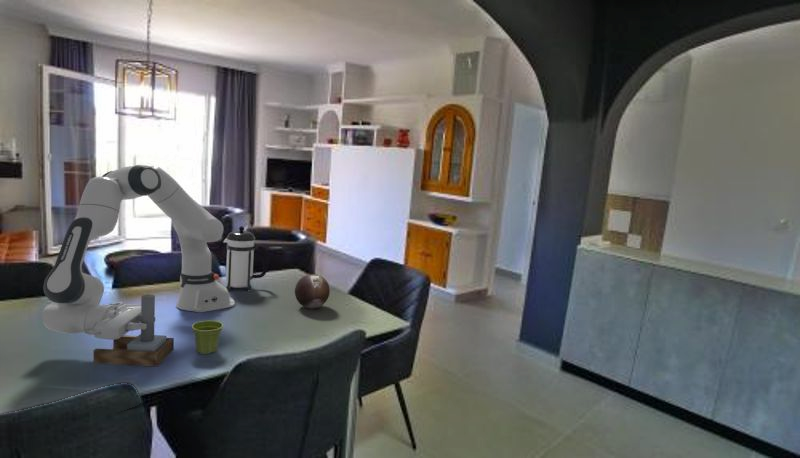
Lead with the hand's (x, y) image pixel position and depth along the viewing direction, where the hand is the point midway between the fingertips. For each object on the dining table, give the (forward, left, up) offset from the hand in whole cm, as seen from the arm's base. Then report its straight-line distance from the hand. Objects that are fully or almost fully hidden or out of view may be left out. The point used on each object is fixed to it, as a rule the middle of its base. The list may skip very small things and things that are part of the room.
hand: (150, 323), depth 140 cm
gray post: (+1, 0, -10) cm, 11 cm away
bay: (+4, -2, -11) cm, 12 cm away
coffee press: (-47, -64, -11) cm, 81 cm away
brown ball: (-66, -26, -11) cm, 72 cm away
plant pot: (-16, +2, -11) cm, 20 cm away
